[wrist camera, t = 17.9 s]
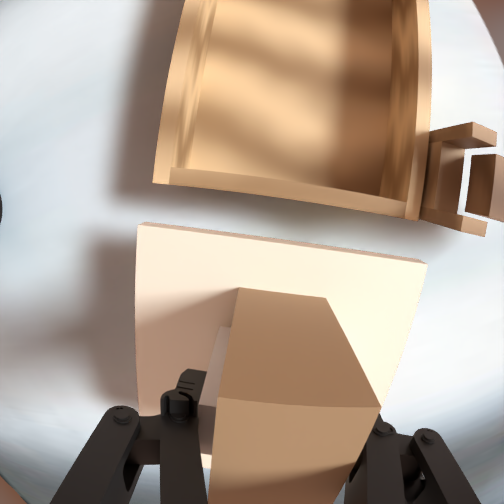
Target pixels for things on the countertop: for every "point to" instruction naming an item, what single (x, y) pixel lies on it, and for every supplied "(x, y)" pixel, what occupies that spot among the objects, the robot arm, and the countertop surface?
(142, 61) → the countertop surface
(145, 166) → the countertop surface
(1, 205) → the mug
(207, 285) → the lid
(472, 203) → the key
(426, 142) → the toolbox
